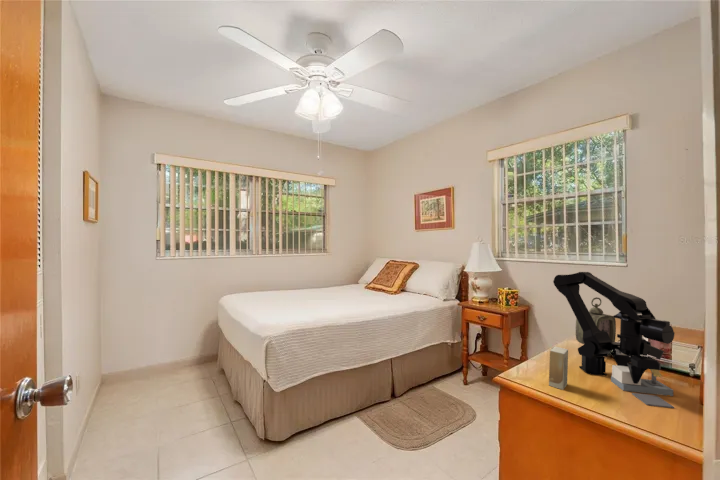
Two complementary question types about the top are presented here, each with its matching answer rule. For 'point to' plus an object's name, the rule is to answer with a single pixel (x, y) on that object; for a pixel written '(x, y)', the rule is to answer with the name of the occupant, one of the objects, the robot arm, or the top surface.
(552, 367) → the skincare box
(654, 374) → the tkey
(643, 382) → the latch base
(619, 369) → the cover
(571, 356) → the top surface
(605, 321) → the tabletop clock
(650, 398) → the mat
